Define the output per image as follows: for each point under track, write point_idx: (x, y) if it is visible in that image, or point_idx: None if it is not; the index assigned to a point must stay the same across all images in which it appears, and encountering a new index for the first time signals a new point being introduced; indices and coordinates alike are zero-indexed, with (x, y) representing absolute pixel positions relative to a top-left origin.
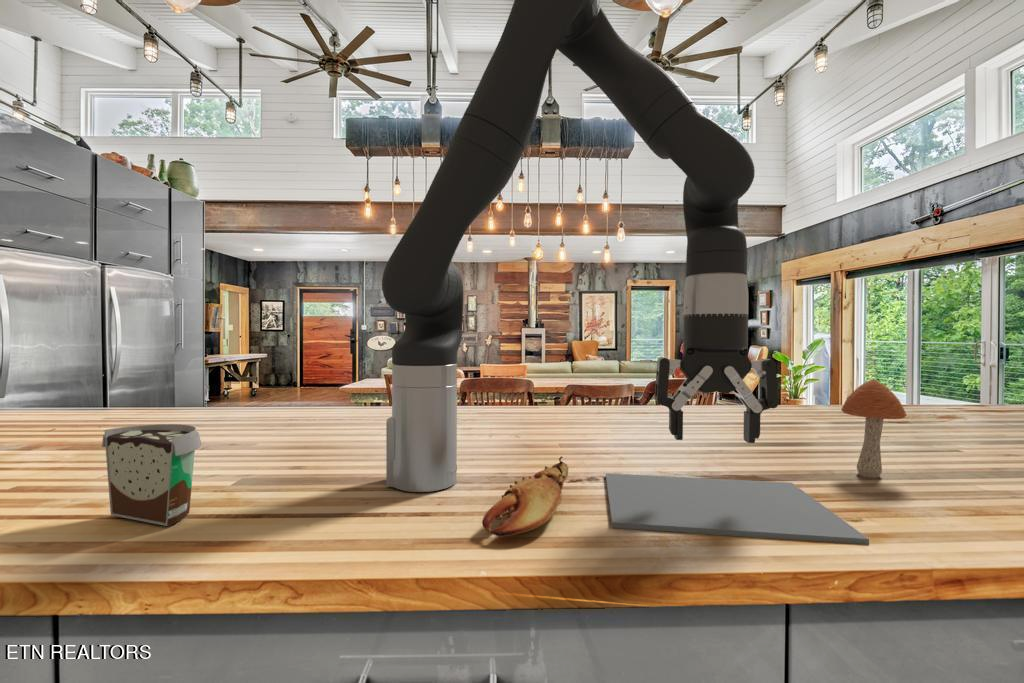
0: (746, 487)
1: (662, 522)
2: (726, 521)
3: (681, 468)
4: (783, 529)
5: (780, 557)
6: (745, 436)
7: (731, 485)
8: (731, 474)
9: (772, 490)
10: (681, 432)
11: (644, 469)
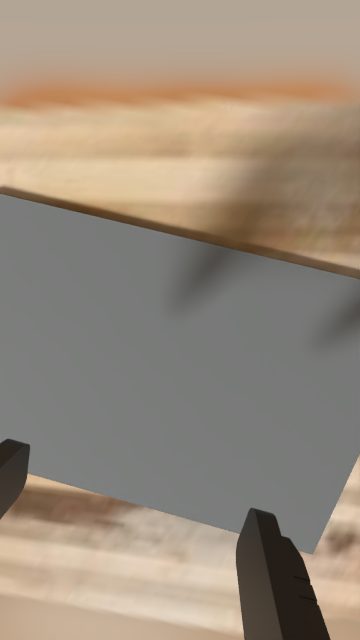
0: (67, 444)
1: (325, 288)
2: (195, 284)
3: (131, 567)
4: (110, 239)
5: (171, 149)
6: (15, 484)
7: (90, 457)
8: (53, 524)
9: (27, 424)
10: (265, 533)
11: (206, 574)
